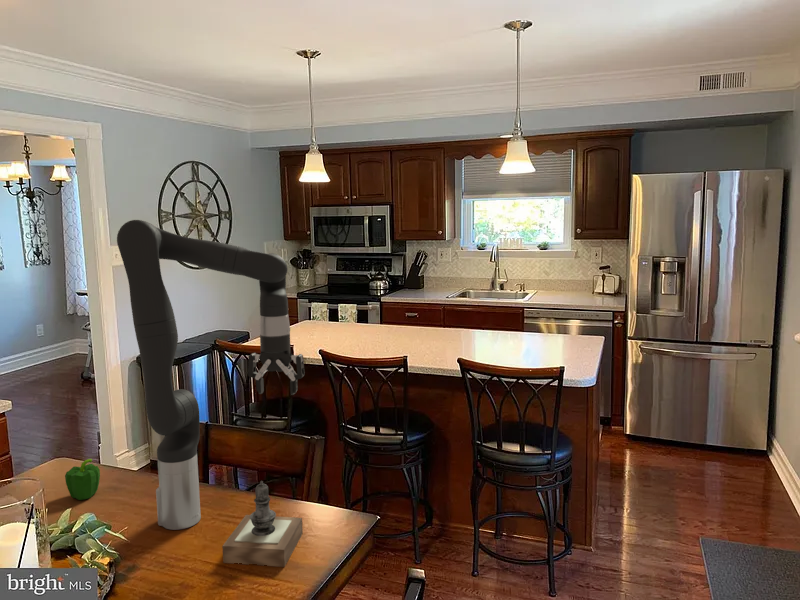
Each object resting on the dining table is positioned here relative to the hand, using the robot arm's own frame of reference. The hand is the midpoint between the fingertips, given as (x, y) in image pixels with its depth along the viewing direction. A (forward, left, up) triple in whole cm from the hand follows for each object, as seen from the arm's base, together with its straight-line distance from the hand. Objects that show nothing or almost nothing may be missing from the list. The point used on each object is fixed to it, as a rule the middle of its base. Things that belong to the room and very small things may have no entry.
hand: (277, 393), depth 157 cm
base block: (+3, -22, -30) cm, 37 cm away
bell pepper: (-55, -2, -30) cm, 63 cm away
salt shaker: (+3, -22, -26) cm, 34 cm away
